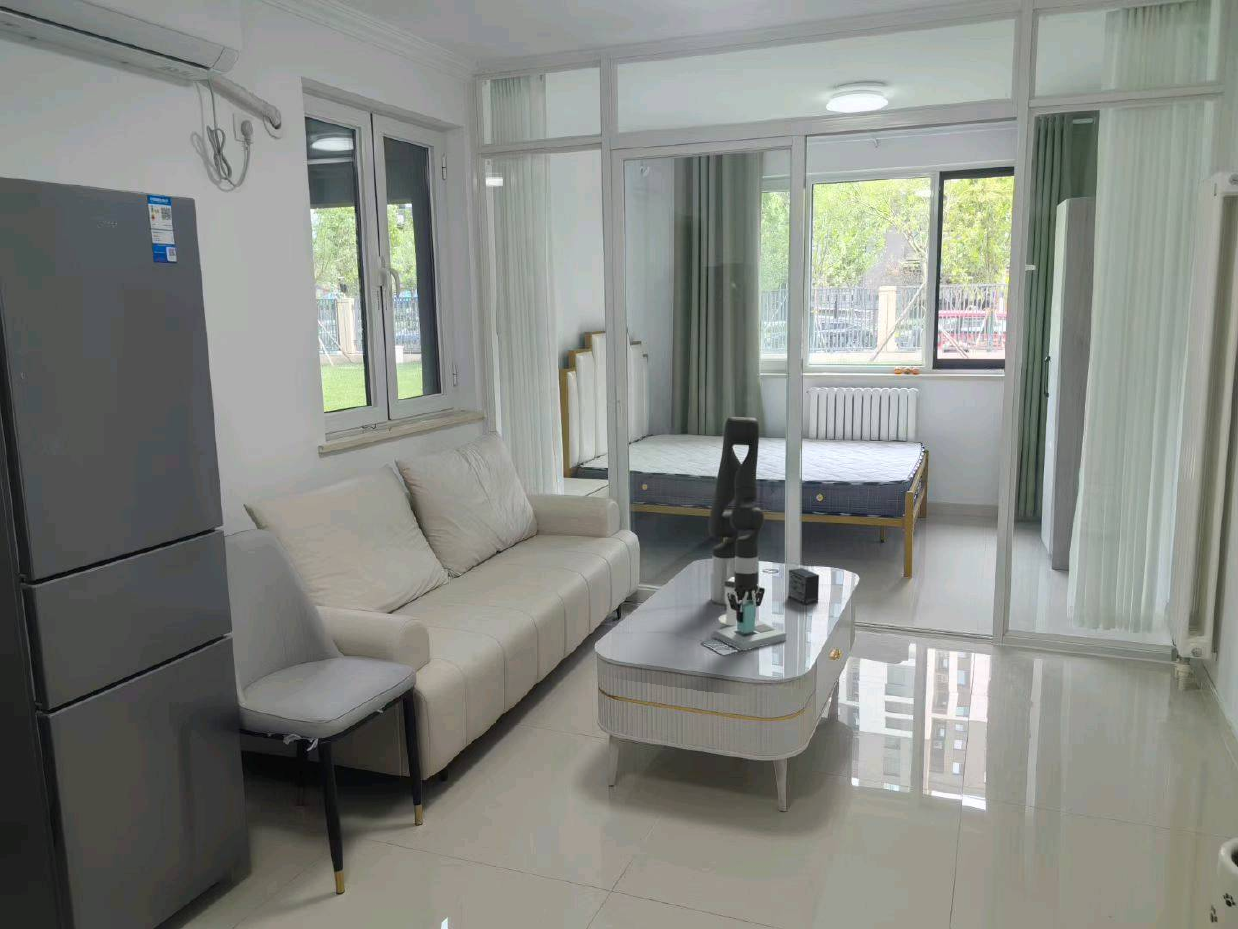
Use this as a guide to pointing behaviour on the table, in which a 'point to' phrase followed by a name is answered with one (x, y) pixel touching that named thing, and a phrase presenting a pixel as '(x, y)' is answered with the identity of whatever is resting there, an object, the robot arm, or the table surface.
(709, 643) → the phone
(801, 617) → the table surface
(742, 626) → the teal knobbed block
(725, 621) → the white curved stand
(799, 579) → the small box
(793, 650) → the table surface
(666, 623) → the table surface
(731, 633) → the plate
